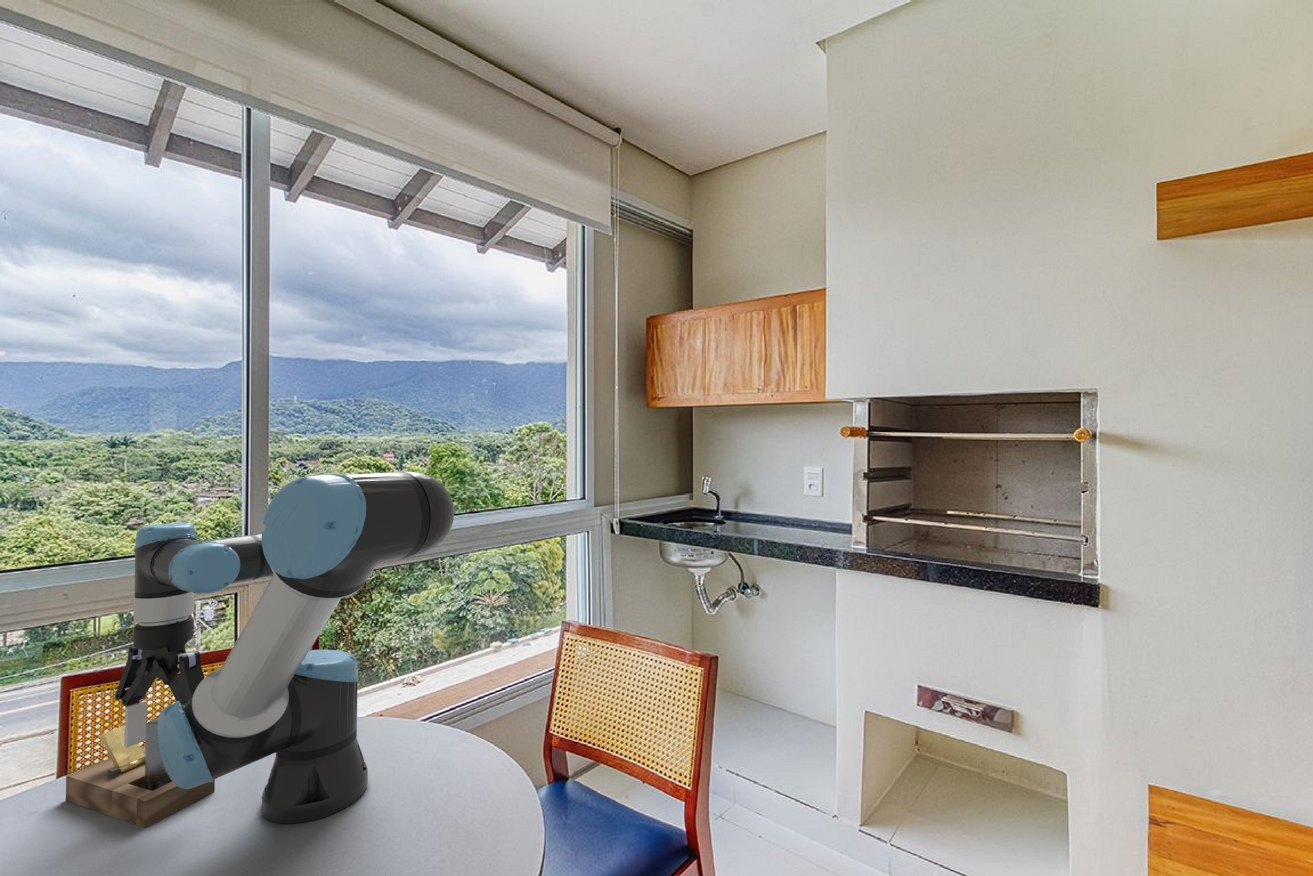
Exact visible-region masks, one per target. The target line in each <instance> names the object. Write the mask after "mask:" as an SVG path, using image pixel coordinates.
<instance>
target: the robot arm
mask: <svg viewBox="0 0 1313 876" xmlns="http://www.w3.org/2000/svg"><path fill="white" fill-rule="evenodd" d="M454 518H455V507H454V503H453V499H452V497H451V495H450V493H449V491H448V490H447V489H446V487H445V486H444V485H443V484H442V483H441V482H440V481H438V480H437V479H436V478H434V477H431V476H430V475H427V474H424V473H420V472H414V471H398V472H378V473H377V472H376V473H356V474H344V473H337V472H328V473H322V474H318V475H310V476H302V477H298V478H296V479H294V480H292V481H291V480H290V482H288V483H287V484H285V485H284V486H283V487H282V488H280V489H279V490H278V491H277V493H276V494H275V495H274V496H273V498H272V499H271V501H270V502H269V504H268V506H267V509H266V512H265V514H264V517H263V521H262V523H263V525H264V527H265V528H264V530H262V532H261V533H259V534H248V535H247V534H246V535H240V536H231V537H222V538H214V539H212V538H211V539H205V540H201V539H200V540H197V539H198V536H197V535H196V527H195V525H194V524H192V523H189V522H173V523H170V522H169V523H158V524H150V525H145V526H141V527H140V528H139V529H138V530H137V531H136V536H135V545H134V548H133V551H134V596H133V622H134V623H136V624H135V625H134V626H133V637H132V638H133V640H132V643H133V645H132V646H129V648H128V651H127V660H126V663H125V666H124V668H123V672H122V674H121V677H120V680H119V683H118V685H117V688H116V691H115V694H114V699H115V700H116V701H120V700H121V704H122V706H123V707H124V725H125V729H124V747H126V748H128V747H130V746H133V745H135V744H138V743H139V744H140V743H142V742H145V738H146V723H147V722H148V721H147V719H148V718H147V717H148V716H147V715H148V714H147V713H148V700H145V699H148V694H147V693H148V691H149V690H150V688H151V687H152V685H153V684H154V682H155V680H156V679H158V680H159V681H162V684H164V685H165V686H168V687H169V689H170V691H171V693H172V695H173V697H174V699H175V702H174V703H172V704H169V705H167V706H165V707H164V708H163V709H162V710H161V711H160V713H159V715H158V718H159V719H158V726H157V733H158V743H159V749H160V754H161V757H162V761H163V764H164V766H165V769H166V771H167V773H168V775H169V777H170V779H171V780H172V782H173V783H174V784H176V785H177V786H178V787H180V788H182V789H190V788H193V787H196V786H199V785H202V784H205V783H207V782H208V783H209V782H210V783H211V782H213V780H214V779H215V780H217V779H219V778H221V777H223V776H226V775H228V774H230V773H232V772H235V771H237V770H239V769H241V768H243V767H247V766H248V765H251V764H253V763H255V762H257V761H259V760H262V759H264V758H267V757H269V756H271V755H274V754H275V757H274V761H273V765H272V767H271V769H270V774H269V777H268V780H267V783H266V785H265V787H264V789H263V792H262V795H261V813H262V816H263V817H264V818H266V820H268V821H271V822H273V823H279V824H297V823H299V824H300V823H307V822H311V821H315V820H318V819H321V818H324V817H329V816H330V815H333V814H335V813H337V812H339V811H341V810H344V809H345V808H347V807H348V806H350V805H351V804H353V803H354V802H356V801H357V800H358V799H359V798H361V796H362V795H363V794H364V792H365V791H366V789H367V788H368V783H369V779H368V778H369V773H368V772H369V771H368V766H367V764H366V761H365V758H364V755H363V752H362V749H361V747H360V744H359V741H358V733H357V732H358V686H359V685H358V682H359V680H360V677H359V669H358V660H357V659H356V657H355V656H354V655H353V654H351V653H349V652H346V651H343V650H337V649H336V650H335V649H313V650H311V648H312V647H313V645H314V644H315V642H316V641H317V639H318V637H319V635H320V634H321V632H322V631H323V629H324V627H326V624H327V622H328V621H329V619H330V618H331V616H332V614H333V613H334V611H335V610H336V608H337V606H338V605H339V603H340V602H341V600H342V599H345V598H347V597H350V596H353V595H354V594H355V593H357V592H358V591H360V590H361V589H362V588H363V587H364V586H365V584H366V582H367V581H368V579H369V578H370V577H371V574H372V573H373V571H374V570H375V568H376V567H377V566H378V565H380V564H383V563H387V562H392V561H396V560H397V561H398V560H401V559H402V560H403V559H406V558H410V557H416V556H419V555H422V554H424V553H425V554H426V553H428V552H429V551H431V550H433V549H435V548H436V547H437V546H439V545H440V544H441V543H442V542H443V541H444V540H445V538H446V537H447V536H448V534H449V533H450V531H451V529H452V526H453V523H454V520H455V519H454ZM266 578H270V579H269V581H268V583H267V585H266V587H265V588H264V590H263V592H262V594H261V596H260V598H259V599H258V601H257V602H256V604H255V606H254V608H253V610H252V612H251V614H250V615H249V617H248V619H247V622H246V623H245V625H244V627H243V628H242V630H241V632H240V634H239V635H238V638H237V639H236V641H235V643H234V645H233V646H232V648H231V650H230V652H229V654H228V655H227V657H226V659H225V661H224V663H223V665H222V666H221V667H218V668H217V669H215V670H213V671H211V672H210V673H209V674H207V675H206V676H205V674H204V672H203V667H202V660H201V659H202V658H201V652H200V651H199V650H197V651H193V652H189V653H187V650H186V645H187V644H188V642H190V641H192V640H193V638H194V634H195V626H194V625H195V618H194V617H193V616H192V614H193V613H194V610H195V609H194V608H195V602H194V601H195V596H196V595H195V594H213V593H217V592H219V591H223V589H226V588H227V587H228V586H229V585H233V584H239V583H245V582H250V581H255V580H260V579H266Z"/></svg>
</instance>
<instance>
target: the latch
mask: <svg viewBox="0 0 1313 876" xmlns="http://www.w3.org/2000/svg"><path fill="white" fill-rule="evenodd" d="M124 729H125V724H124V725H122V726H119V727H117V728H114V729H111V730H109V731H106V732H104V733H102V734H101V735H100V736H99V738H100V740H101V742H102V744H103V746H104V749H105V750H106V751H107V754H108V757H109V758H111V760H112V762H113V764H114V766H115V768H118V769H119V770H118V773H119V774H120V773H122V772H125V771H127V770H129V769H131V768H134V767H136V766H138V765H141V764H143V763H145V755H144V753H143V751H142V749H141V747H142V746H140V743H138V744H135V745H133V746H130V747H128V748H126V747H124Z"/></svg>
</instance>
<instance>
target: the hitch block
mask: <svg viewBox="0 0 1313 876" xmlns="http://www.w3.org/2000/svg"><path fill="white" fill-rule="evenodd" d="M140 747H141V749H142V751H143V753H144V755H145V747H143V746H140ZM118 770H119V769H118V768H115V766H114V764H113V762H112V760H111V758H110V757H109V758H106V759H104V760H101V761H99V762H97V763H94V764H92V765H88V766H87V767H83V768H82V769H79V770H77V771H75V772H72V773H70V774H67V775H65V776H66V778H65V802H69V803H72V804H73V805H74V804H75V805H77V806H80V807H83V808H86V809H89V810H92V811H95V812H98V813H101V814H104V815H106V816H110V817H111V818H115V819H118V820H120V821H123V822H126V823H129V824H132V825H134V826H138V827H141V828H148V827H149V826H152V825H153V824H156V823H157V822H159V821H161V820H163V819H165V818H167V817H169V816H170V815H172V814H174V813H176V812H178V811H180V810H182V809H183V808H185V807H188V806H190V805H192V804H194V803H195V802H197V801H199V800H201V799H203V798H205V797H206V796H209V795H210V794H213V793H214V792H215V791H216V783H215V782H216V779H214V780H213V782H211V783H210V782H209V783H208V782H207V783H205V784H202V785H199V786H196V787H193V788H190V789H182V788H180V787H178V786H177V785H176V784H174V783H173V782H170V783H168V784H166V785H164V786H162V787H160V788H158V789H156V790H154V791H150V790H147V789H145V763H143V764H141V765H138V766H136V767H134V768H131V769H129V770H127V771H125V772H122V773H120V774H119V773H118Z"/></svg>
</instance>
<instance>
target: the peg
mask: <svg viewBox="0 0 1313 876" xmlns="http://www.w3.org/2000/svg"><path fill="white" fill-rule="evenodd" d="M158 719H159V717H157V718H152V719H151V720H149V721H147V723H146V738H145V741H144V742H145V745H144V748H145V789H147V790H150V791H154V790H156V789H158V788H160V787H162V786H164V785H166V784H168V783H170V782H172V780H171V779H170V777H169V775H168V773H167V771H166V769H165V766H164V764H163V761H162V757H161V754H160V749H159V743H158V733H157V726H158Z"/></svg>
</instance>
